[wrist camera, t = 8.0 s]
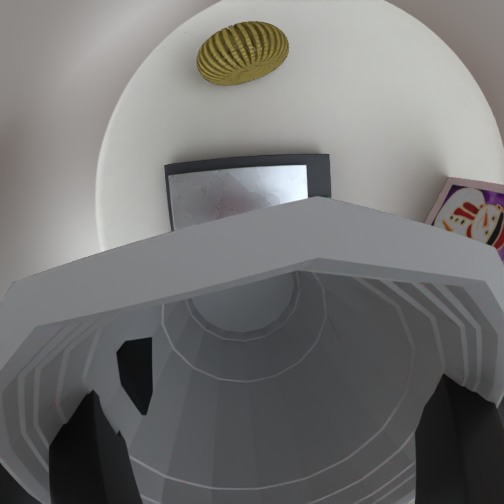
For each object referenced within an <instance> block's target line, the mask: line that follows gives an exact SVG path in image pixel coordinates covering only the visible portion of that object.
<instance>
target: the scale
mask: <svg viewBox="0 0 504 504" xmlns="http://www.w3.org/2000/svg"><path fill="white" fill-rule="evenodd" d="M164 168H165V179H166V190H167V199H168V208H169V217H170V225H171V232H172V231H176V230H180V229H183V228H187V227H191V226H195V225H198V224H202V223H206V222H210V221H214V220H217V219H221V218H225V217H229V216H233V215H237V214H241V213H245V212H250V211H254V210H258V209H262V208H266V207H271V206H275V205H279V204H284V203H288V202H292V201H297V200H301V199H306V198H311V197H315V196H320V197H324V198H329V199H331V180H330V159H329V154H287V155H263V156H246V157H233V158H221V159H211V160H201V161H192V162H184V163H177V164H169V165H164Z"/></svg>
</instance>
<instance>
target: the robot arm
mask: <svg viewBox="0 0 504 504" xmlns="http://www.w3.org/2000/svg"><path fill="white" fill-rule="evenodd" d="M116 355H117V363H118V370H119V377H120V383H121V385H122V387H123V389H124V390H125V392H126V393H127V395H128V396H129V398H130V399H131V401H132V402H133V404H134V405H135V406H136V408H137V409H138V411H139V412H140V414H141V415H145V416H146V415H147V411H148V408H149V404H150V401H151V398H152V394H153V373H152V337H148V338H141V339H135V340H128V341H125V342H124V343H123V344H122V346H121V347H120V348H119V349H118V351H117V352H116ZM415 450H416V491H415V504H504V397H503V399H502V401H501V402H500V404H499V406H498V408H496V405H495V403H493V402H490V401H487V400H485V399H484V398H483V397H482V396H481V395H479V394H478V393H477V392H472V391H471V390H469V389H468V388H466V387H465V386H460V385H459V384H457V383H456V382H455V381H453V380H452V379H451V378H449V377H448V376H447V375H445V374H444V373H443V375H442V377H441V379H440V381H439V383H438V385H437V387H436V389H435V391H434V393H433V395H432V396H431V398H430V399H429V400H428V402H427V403H426V405H425V406H424V409H423V412H422V415H421V419H420V422H419V424H418V427H417V429H416V431H415ZM49 484H50V498H51V504H143V502H142V499H141V496H140V493H139V490H138V487H137V484H136V480H135V477H134V473H133V470H132V466H131V462H130V458H129V454H128V450H127V445H126V441H125V439H124V437H123V436H122V434H121V432H120V430H119V432H118V433H117V434H116V432H115V431H114V429H113V428H112V426H111V425H110V423H109V421H108V420H107V418H106V417H105V415H104V413H103V411H102V408H101V405H100V399H99V395H98V394H97V393H96V392H95V391H94V390H92V391H91V392H90V393H89V394H86V395H85V397H84V398H83V400H82V401H81V403H80V404H79V406H78V407H77V409H76V410H75V412H74V413H73V415H72V416H71V418H70V419H69V421H68V423H66V424H63V425H62V427H61V429H60V430H59V432H58V433H57V435H56V436H55V438H54V440H53V441H52V443H51V445H50V446H49ZM0 504H42V503H41V502H39V501H38V500H37V499H35V498H34V497H33V496H31V495H30V494H29V493H28V492H27V491H26V490H25V489H24V488H23V487H22V486H21V485H20V484H19V483H18V482H17V481H16V480H15V479H14V478H13V477H12V476H11V474H10V473H9V472H8V471H7V470H6V469H5V468H4V466H3V465H2V464H1V463H0Z"/></svg>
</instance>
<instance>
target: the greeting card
mask: <svg viewBox="0 0 504 504" xmlns="http://www.w3.org/2000/svg"><path fill="white" fill-rule="evenodd" d="M424 224H428V225H431V226H434V227H437V228H440V229H444V230H447V231H450V232H453V233H456V234H459V235H462V236H465V237H468V238H470V239H473V240H476V241H479V242H482V243H484V244H487V245H490V246H493V247H495V249H496V250H497V252H498V254H499V256H500V259H501V261H502V263H503V265H504V185H500V184H495V183H488V182H482V181H475V180H468V179H461V178H453V177H448V179H447V181H446V183H445V185H444V187H443V189H442V191H441V193H440V195H439V197H438V199H437V200H436V202H435V204H434V206H433V208H432V210H431V211H430V213H429V215H428V217H427V218H426V220H425V222H424Z"/></svg>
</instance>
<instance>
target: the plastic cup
mask: <svg viewBox="0 0 504 504" xmlns="http://www.w3.org/2000/svg"><path fill="white" fill-rule="evenodd" d="M148 337H152V373H153V394H152V398H151V401H150V404H149V408H148V411H147V415H146V416H145V415H141V414H140V412H139V411H138V409H137V408H136V406H135V405H134V404H133V402H132V401H131V399H130V398H129V396H128V395H127V393H126V392H125V390H124V389H123V387H122V385H121V383H120V377H119V370H118V363H117V355H116V352H117V351H118V349H119V348H120V347H121V346H122V344H123V343H124V342H125V341H128V340H135V339H141V338H148ZM443 373H444V374H445V375H447V376H448V377H449V378H451V379H452V380H453V381H455V382H456V383H457V384H459V385H460V386H465V387H466V388H468V389H469V390H471V391H472V392H477V393H478V394H479V395H481V396H482V397H483V398H484V399H485V400H487V401H490V402H493V403H495V405H496V408H498V406H499V404H500V402H501V401H502V399H503V397H504V265H503V263H502V261H501V259H500V256H499V254H498V252H497V250H496V249H495V247H493V246H490V245H487V244H484V243H482V242H479V241H476V240H473V239H470V238H468V237H465V236H462V235H459V234H456V233H453V232H450V231H447V230H444V229H440V228H437V227H434V226H431V225H428V224H424V223H421V222H418V221H414V220H411V219H407V218H404V217H400V216H397V215H393V214H389V213H386V212H382V211H378V210H374V209H370V208H366V207H363V206H358V205H354V204H350V203H346V202H342V201H338V200H333V199H329V198H324V197H320V196H315V197H311V198H306V199H301V200H297V201H292V202H288V203H284V204H279V205H275V206H271V207H266V208H262V209H258V210H254V211H250V212H245V213H241V214H237V215H233V216H229V217H225V218H221V219H217V220H214V221H210V222H206V223H202V224H198V225H195V226H191V227H187V228H183V229H180V230H176V231H172V232H169V233H165V234H162V235H158V236H155V237H151V238H148V239H144V240H141V241H137V242H134V243H130V244H127V245H124V246H120V247H117V248H114V249H111V250H107V251H104V252H101V253H98V254H94V255H91V256H88V257H85V258H82V259H79V260H76V261H73V262H70V263H67V264H64V265H61V266H58V267H55V268H52V269H49V270H46V271H43V272H40V273H37V274H34V275H32V276H29V277H26V278H23V279H20V280H18V281H15V282H13V283H12V285H11V286H10V288H9V289H8V291H7V293H6V294H5V296H4V297H3V299H2V301H1V302H0V463H1V464H2V465H3V466H4V468H5V469H6V470H7V471H8V472H9V473H10V474H11V476H12V477H13V478H14V479H15V480H16V481H17V482H18V483H19V484H20V485H21V486H22V487H23V488H24V489H25V490H26V491H27V492H28V493H29V494H30V495H31V496H33V497H34V498H35V499H37V500H38V501H39V502H41V503H42V504H51V498H50V484H49V446H50V445H51V443H52V441H53V440H54V438H55V436H56V435H57V433H58V432H59V430H60V429H61V427H62V425H63V424H66V423H68V421H69V419H70V418H71V416H72V415H73V413H74V412H75V410H76V409H77V407H78V406H79V404H80V403H81V401H82V400H83V398H84V397H85V395H86V394H89V393H90V392H91V391H92V390H94V391H95V392H96V393H97V394H98V395H99V399H100V405H101V408H102V411H103V413H104V415H105V417H106V418H107V420H108V421H109V423H110V425H111V426H112V428H113V429H114V431H115V432H116V434H117V433H118V432H119V430H120V432H121V434H122V436H123V437H124V439H125V441H126V445H127V450H128V454H129V458H130V462H131V466H132V470H133V473H134V477H135V480H136V484H137V487H138V490H139V493H140V496H141V499H142V502H143V504H408V503H410V502H411V501H412V500H414V499H415V491H416V450H415V431H416V429H417V427H418V424H419V422H420V419H421V415H422V412H423V409H424V406H425V405H426V403H427V402H428V400H429V399H430V398H431V396H432V395H433V393H434V391H435V389H436V387H437V385H438V383H439V381H440V379H441V377H442V375H443Z"/></svg>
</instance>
